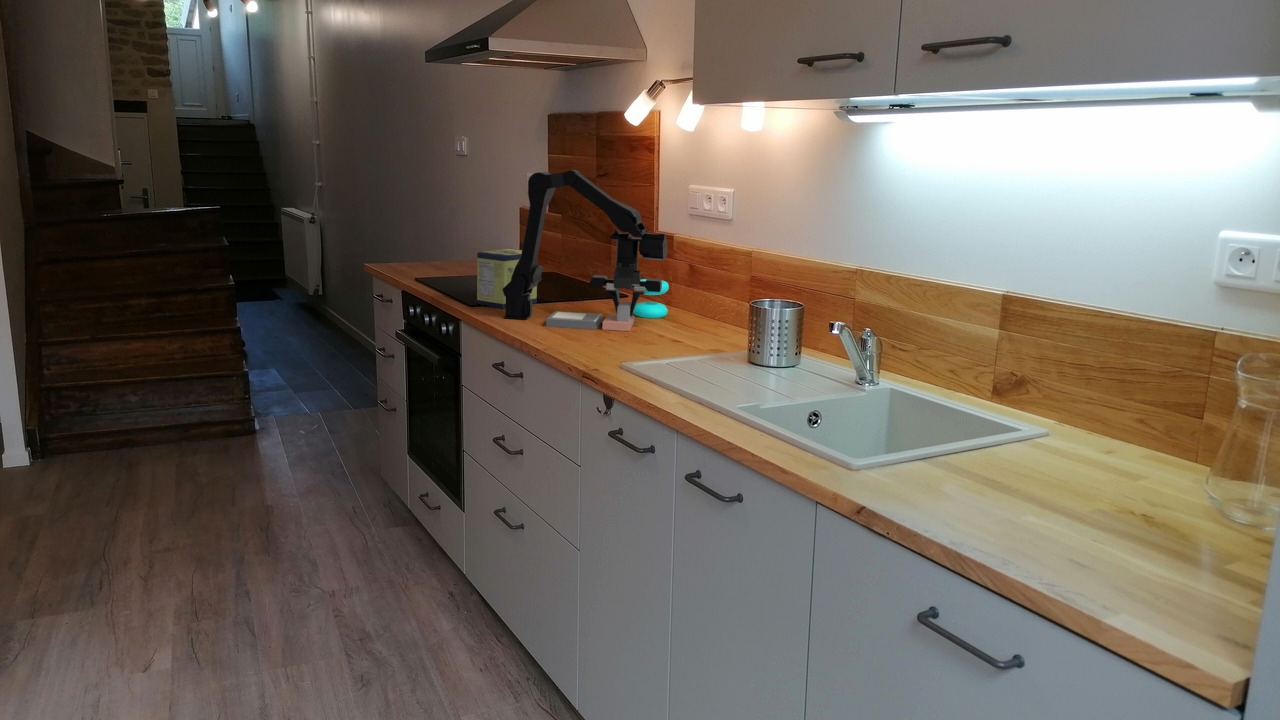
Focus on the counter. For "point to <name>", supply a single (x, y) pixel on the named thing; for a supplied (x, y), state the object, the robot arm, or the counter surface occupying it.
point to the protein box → (497, 276)
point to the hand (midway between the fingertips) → (624, 315)
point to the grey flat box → (574, 320)
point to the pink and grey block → (619, 318)
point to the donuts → (652, 305)
